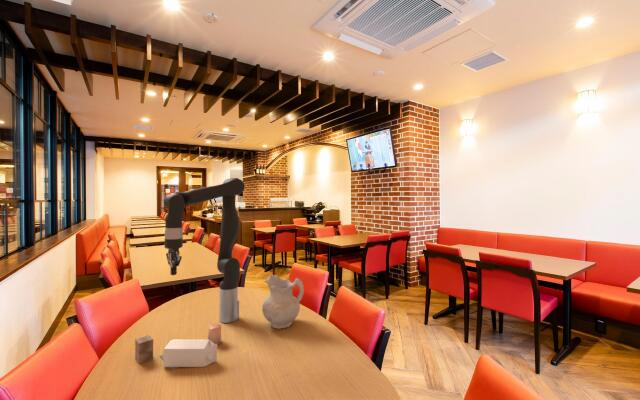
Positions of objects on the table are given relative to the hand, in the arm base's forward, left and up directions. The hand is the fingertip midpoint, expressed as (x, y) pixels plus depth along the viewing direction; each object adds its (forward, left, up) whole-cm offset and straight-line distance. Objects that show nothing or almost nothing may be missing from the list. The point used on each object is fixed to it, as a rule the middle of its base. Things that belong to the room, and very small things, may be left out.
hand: (173, 274), depth 136 cm
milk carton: (+10, +21, -25) cm, 34 cm away
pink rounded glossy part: (-11, +18, -29) cm, 36 cm away
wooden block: (+15, +11, -29) cm, 35 cm away
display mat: (+2, +20, -29) cm, 35 cm away
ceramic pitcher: (-45, +25, -29) cm, 59 cm away
